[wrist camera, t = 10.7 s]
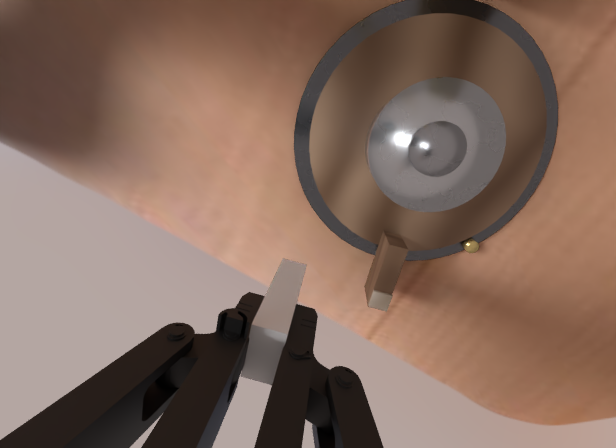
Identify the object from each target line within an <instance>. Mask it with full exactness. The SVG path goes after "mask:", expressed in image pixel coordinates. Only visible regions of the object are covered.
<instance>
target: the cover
mask: <svg viewBox="0 0 616 448" xmlns="http://www.w3.org/2000/svg"><path fill="white" fill-rule="evenodd" d="M505 145H506V129H505V123H504V119H503V116H502V113H501V111H500V109H499V107H498V106H497V104H496V102H495V101H494V100H493V98H492V97H491V96H490V95H489V94H488V93H487V92H486V91H484V90H483V89H482V88H480V87H479V86H477V85H475V84H474V83H471V82H469V81H466V80H463V79H459V78H451V77H437V78H432V79H427V80H424V81H421V82H418V83H416V84H413V85H411V86H409V87H408V88H406V89H404V90H403V91H401V92H400V93H399V94H397V95H396V96H395V97H394V98H392V99H391V100H390V101H389V102H388V103H386V104H385V105H384V106H383V107H382V108H381V109H380V110H379V112H378V113H377V114H376V116H375V117H374V119H373V121H372V122H371V125H370V127H369V129H368V133H367V136H366V141H365V158H366V162H367V166H368V168H369V171H370V173H371V175H372V176H373V178H374V180H375V182H376V183H377V185H378V187H379V188H380V189H381V191H382V192H383V193H384V194H385V195H386V196H387V197H388V198H389V199H391V200H392V201H393V202H395V203H397V204H398V205H400V206H402V207H405V208H407V209H410V210H414V211H419V212H440V211H445V210H449V209H452V208H455V207H458V206H460V205H462V204H464V203H466V202H467V201H469V200H471V199H472V198H474V197H475V196H476V195H477V194H479V193H480V192H481V191H482V190H483V189H484V188H485V187H486V186H487V185H488V184H489V182H490V181H491V180H492V178H493V177H494V175H495V174H496V172H497V170H498V168H499V166H500V164H501V162H502V158H503V155H504V151H505Z"/></svg>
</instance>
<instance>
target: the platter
mask: <svg viewBox="0 0 616 448" xmlns="http://www.w3.org/2000/svg"><path fill="white" fill-rule="evenodd" d="M437 77H451V78H459V79H463V80H466V81H469V82H471V83H474V84H475V85H477V86H479V87H480V88H482V89H483V90H484V91H486V92H487V93H488V94H489V95H490V96H491V97H492V98H493V100H494V101H495V102H496V104H497V106H498V107H499V109H500V111H501V113H502V116H503V119H504V123H505V129H506V145H505V151H504V155H503V158H502V162H501V164H500V166H499V168H498V170H497V172H496V174H495V175H494V177H493V178H492V180H491V181H490V182H489V184H488V185H487V186H486V187H485V188H484V189H483V190H482V191H481V192H480V193H479V194H477V195H476V196H475V197H474V198H472V199H471V200H469V201H467V202H466V203H464V204H462V205H460V206H458V207H455V208H452V209H449V210H445V211H440V212H419V211H414V210H410V209H407V208H405V207H402V206H400V205H398V204H397V203H395V202H393V201H392V200H391V199H389V198H388V197H387V196H386V195H385V194H384V193H383V192H382V191H381V189H380V188H379V187H378V185H377V183H376V182H375V180H374V178H373V176H372V175H371V173H370V171H369V168H368V166H367V162H366V158H365V141H366V136H367V133H368V129H369V127H370V125H371V122H372V121H373V119H374V117H375V116H376V114H377V113H378V112H379V110H380V109H381V108H382V107H383V106H384V105H385V104H386V103H388V102H389V101H390V100H391V99H392V98H394V97H395V96H396V95H397V94H399V93H400V92H401V91H403V90H404V89H406V88H408V87H409V86H411V85H413V84H416V83H418V82H421V81H424V80H427V79H432V78H437ZM546 128H547V109H546V102H545V95H544V91H543V88H542V85H541V81H540V78H539V76H538V74H537V72H536V70H535V68H534V66H533V64H532V62H531V61H530V59H529V58H528V56H527V55H526V54H525V52H524V51H523V50H522V49H521V48H520V46H519V45H518V44H517V43H516V42H515V41H514V40H513V39H512V38H510V37H509V36H508V35H506V34H505V33H504V32H502V31H501V30H499V29H498V28H496V27H494V26H492V25H490V24H488V23H486V22H484V21H481V20H478V19H475V18H472V17H469V16H464V15H458V14H451V13H432V14H425V15H418V16H414V17H410V18H407V19H403V20H400V21H397V22H395V23H393V24H390V25H388V26H386V27H384V28H382V29H380V30H378V31H377V32H375V33H374V34H372V35H370V36H369V37H367V38H366V39H365V40H363V41H362V42H361V43H360V44H358V45H357V46H356V47H355V48H353V50H352V51H351V52H350V53H349V54H348V55H347V56H346V57H345V58H344V59H343V60H342V61H341V62H340V64H339V65H338V66H337V68H336V69H335V70H334V71H333V73H332V74H331V76H330V77H329V79H328V81H327V83H326V84H325V86H324V88H323V90H322V92H321V95H320V97H319V99H318V102H317V104H316V107H315V111H314V114H313V118H312V123H311V129H310V142H309V152H310V162H311V167H312V172H313V176H314V179H315V182H316V185H317V188H318V190H319V192H320V194H321V196H322V198H323V200H324V202H325V203H326V205H327V206H328V207H329V209H330V210H331V212H332V213H333V214H334V215H335V216H336V217H337V219H338V220H339V221H340V222H341V223H342V224H344V225H345V226H346V227H347V228H348V229H350V230H351V231H352V232H354V233H355V234H357V235H359V236H360V237H362V238H364V239H366V240H368V241H370V242H372V243H374V244H378V248H377V251H376V254H375V257H374V260H373V263H372V266H371V269H370V272H369V275H368V278H367V281H366V283H365V292H366V298H367V304H368V307H371V308H375V309H378V310H382V311H386V312H387V310H388V307H389V304H390V302H391V299H392V293H393V290H394V287H395V285H396V282H397V279H398V277H399V274H400V271H401V269H402V266H403V263H404V261H405V258H406V255H407V253H408V251H422V250H432V249H438V248H443V247H446V246H450V245H453V244H456V243H459V242H461V241H464V240H466V239H468V238H470V237H472V236H474V235H476V234H478V233H480V232H481V231H483V230H484V229H486V228H487V227H489V226H490V225H492V224H493V223H494V222H496V221H497V220H498V219H499V218H500V217H501V216H502V215H504V214H505V213H506V212H507V211H508V210H509V209H510V207H511V206H512V205H513V204H514V203H515V202H516V201H517V200H518V198H519V197H520V195H521V194H522V193H523V191H524V190H525V188H526V187H527V185H528V183H529V182H530V180H531V178H532V176H533V174H534V172H535V170H536V167H537V165H538V163H539V160H540V157H541V154H542V150H543V146H544V143H545V135H546Z"/></svg>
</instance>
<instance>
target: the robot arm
mask: <svg viewBox="0 0 616 448" xmlns="http://www.w3.org/2000/svg"><path fill="white" fill-rule="evenodd" d="M306 266H307V265H306V264H303V263H299V262H295V261H291V260H288V259H284V258H283V260H282V262H281V264H280V266H279V268H278V270H277V272H276V274H275V276H274V278H273V281H272V283H271V285H270V287H269V289H268V291H267V293H266V296H262V295H258V294H255V293H251V292H249V293H247V294H245V295H244V296H242V298H241V299H240V301H239V303H238V304H237V306H236V308H232V309H226V310H224V311H222V312H221V313H220V314H219V316H218V322H217V328H216V332H214V333H210V334H194V333H195V332H194V330H193V328H192V327H191V326H190V325H188V324H185V323H172V324H169V325H167V326H165V327H163V328H161V329H160V330H159V331H157V332H156V333H154V334H153V335H151V336H150V337H148V338H147V339H146V340H144V341H143V342H141V343H140V344H138V345H137V346H135V347H134V348H133V349H131V350H130V351H128V352H127V353H125V354H124V355H123V356H121V357H120V358H118V359H117V360H115V361H114V362H112V363H111V364H109V365H108V366H107V367H105V368H104V369H102V370H101V371H99V372H98V373H97V374H95V375H94V376H92V377H91V378H89V379H88V380H87V381H85V382H84V383H82V384H81V385H79V386H78V387H76V388H75V389H74V390H72V391H71V392H69V393H68V394H66V395H65V396H63V397H62V398H60V399H59V400H58V401H56V402H55V403H53V404H52V405H50V406H49V407H47V408H46V409H45V410H43V411H42V412H40V413H39V414H37V415H36V416H34V417H33V418H32V419H30V420H29V421H27V422H26V423H24V424H23V425H22V426H20V427H19V428H17V429H16V430H14V431H13V432H11V433H10V434H8V435H7V436H6V437H4V438H3V439H1V440H0V448H129V447H130V446H131V445H132V444H133V443H134V442H135V441H136V440H137V439H138V438H139V437H140V436H141V435H142V434H143V433H144V432H145V431H146V430H147V429H148V428H149V427H150V426H151V425H152V424H153V423H154V422H155V421H156V420H157V419H158V418H159V416H161V415H162V413H163V412H164V413H163V415H162V416H161V418H160V419H159V421H158V422H157V424H156V426H155V427H154V429H153V430H152V432H151V433H150V435H149V436H148V438H147V440H146V441H145V443H144V444H143V446H142V447H141V448H212V446H213V443H214V441H215V438H216V436H217V434H218V431H219V429H220V426H221V424H222V422H223V419H224V417H225V414H226V412H227V410H228V407H229V404H230V402H231V400H232V398H233V395H234V393H235V390H236V388H237V384H238V379H239V376H240V374H241V376H242V377H245V378H249V379H252V380H256V381H259V382H263V383H267V384H270V385H272V388H271V391H270V395H269V398H268V402H267V405H266V409H265V412H264V416H263V419H262V423H261V426H260V430H259V433H258V437H257V440H256V444H255V447H254V448H302V440H303V433H304V425H305V419H306V420H308V421H309V422H311V423H312V424H313V425H312V429H313V436H314V443H315V448H383V445H382V442H381V439H380V436H379V433H378V430H377V427H376V424H375V421H374V418H373V416H372V412H371V410H370V407H369V404H368V401H367V398H366V395H365V392H364V389H363V386H362V383H361V381H360V379H359V377H358V375H357V374H356V373H355V372H354V371H352V370H350V369H349V368H346V367H343V366H338V367H334V368H332V369H331V370H329V369H327V368H326V367H324V366H323V365H321V364H320V363H319V362H318V361H317V360H316V358H315V357H314V354H313V346H314V339H315V331H316V323H317V317H318V316H317V313H316V311H315V309H313V308H309V307H305V306H302V305H298V304H297V301H298V297H299V293H300V289H301V285H302V281H303V277H304V273H305V270H306ZM241 371H242V373H241Z"/></svg>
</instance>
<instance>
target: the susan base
mask: <svg viewBox="0 0 616 448" xmlns="http://www.w3.org/2000/svg"><path fill="white" fill-rule="evenodd" d="M432 13H451V14H458V15H464V16H469V17H472V18H475V19H478V20H481V21H484V22H486V23H488V24H490V25H492V26H494V27H496V28H498V29H499V30H501V31H502V32H504V33H505V34H506V35H508V36H509V37H510V38H512V39H513V40H514V41H515V42H516V43H517V44H518V45H519V46H520V48H521V49H522V50H523V51H524V52H525V54H526V55H527V56H528V58H529V59H530V61H531V62H532V64H533V66H534V68H535V70H536V72H537V74H538V76H539V78H540V81H541V85H542V88H543V91H544V95H545V102H546V109H547V128H546V135H545V143H544V146H543V150H542V154H541V157H540V160H539V163H538V165H537V167H536V170H535V172H534V174H533V176H532V178H531V180H530V182H529V183H528V185H527V187H526V188H525V190H524V191H523V193H522V194H521V195H520V197H519V198H518V200H517V201H516V202H515V203H514V204H513V205H512V206H511V207H510V209H509V210H508V211H507V212H506V213H505V214H504V215H502V216H501V217H500V218H499V219H498V220H497V221H496V222H494V223H493V224H492V225H490V226H489V227H487V228H486V229H484V230H483V231H481V232H480V233H478V234H476V235H474V236H472V237H470V238H468V239H466V240H464V241H461V242H459V243H456V244H453V245H450V246H446V247H443V248H438V249H432V250H422V251H408V253H407V255H406V258H405V260H407V261H413V260H428V259H434V258H440V257H444V256H447V255H451V254H455V253H457V252H460V251H462V250H466V251H467V252H468V253H474V252H476V251H477V250H478V249H479V244H478V243H479V242H481V241H483V240H485V239H486V238H488V237H489V236H491V235H492V234H494V233H495V232H496V231H498V230H499V229H500V228H502V227H503V226H504V225H505V224H506V223H507V222H509V221H510V220H511V219H512V218H513V217H514V216H515V215H516V214H517V213H518V211H519V210H520V209H521V208H522V207H523V206H524V205H525V203H526V202H527V201H528V199H529V198H530V197H531V195H532V194H533V193H534V191H535V189H536V188H537V186H538V184H539V182H540V181H541V179H542V177H543V175H544V173H545V170H546V168H547V166H548V163H549V161H550V158H551V155H552V151H553V147H554V144H555V139H556V132H557V125H558V102H557V95H556V87H555V84H554V80H553V77H552V73H551V70H550V68H549V65H548V63H547V61H546V59H545V57H544V55H543V53H542V51H541V50H540V48H539V47H538V45H537V44H536V43H535V41H534V40H533V38H532V37H531V36H530V35H529V34H528V33H527V32H526V31H525V30H524V29H523V28H522V27H521V25H520V24H518V23H517V22H516V21H514V20H513V19H512V18H510V17H509V16H508V15H506V14H505V13H503V12H501V11H499V10H497V9H495V8H493V7H491V6H489V5H488V4H484V3H481V2H478V1H475V0H405V1H402V2H399V3H395V4H392V5H390V6H388V7H386V8H383V9H381V10H379V11H377V12H375V13H373V14H371V15H370V16H368V17H366V18H365V19H363V20H362V21H360V22H359V23H357V24H356V25H355V26H353V27H352V28H351V29H350V30H348V31H347V32H346V33H345V34H344V35H342V36H341V37H340V38H339V40H338V41H337V42H336V43H335V44H334V45H333V46H332V47H331V48H330V49H329V50H328V52H327V53H326V54H325V56H324V57H323V58H322V60H321V61H320V62H319V64H318V65H317V67H316V69H315V70H314V72H313V74H312V76H311V78H310V79H309V81H308V84H307V86H306V88H305V91H304V93H303V96H302V98H301V102H300V105H299V109H298V113H297V118H296V124H295V131H294V152H295V162H296V168H297V172H298V176H299V180H300V183H301V185H302V188H303V191H304V193H305V195H306V197H307V199H308V201H309V203H310V205H311V206H312V208H313V209H314V211H315V212H316V214H317V215H318V216H319V218H320V219H321V220H322V221H323V222H324V223H325V224H326V226H327V227H328V228H329V229H330V230H331V231H333V232H334V233H335V234H336V235H337V236H339V237H340V238H341V239H343V240H344V241H346V242H347V243H349V244H351V245H352V246H354V247H356V248H358V249H360V250H362V251H365V252H367V253H370V254H373V255H375V254H376V251H377V248H378V244H374V243H372V242H370V241H368V240H366V239H364V238H362V237H360V236H359V235H357V234H355V233H354V232H352V231H351V230H350V229H348V228H347V227H346V226H345V225H344V224H342V223H341V222H340V221H339V220H338V219H337V217H336V216H335V215H334V214H333V213H332V212H331V210H330V209H329V207H328V206H327V205H326V203H325V202H324V200H323V198H322V196H321V194H320V192H319V190H318V188H317V185H316V182H315V179H314V176H313V172H312V167H311V162H310V152H309V142H310V129H311V123H312V118H313V114H314V111H315V107H316V104H317V102H318V99H319V97H320V95H321V92H322V90H323V88H324V86H325V84H326V83H327V81H328V79H329V77H330V76H331V74H332V73H333V71H334V70H335V69H336V68H337V66H338V65H339V64H340V62H341V61H342V60H343V59H344V58H345V57H346V56H347V55H348V54H349V53H350V52H351V51H352V50H353V48H355V47H356V46H357V45H358V44H360V43H361V42H362V41H363V40H365V39H366V38H367V37H369V36H370V35H372V34H374V33H375V32H377V31H378V30H380V29H382V28H384V27H386V26H388V25H390V24H393V23H395V22H397V21H400V20H403V19H407V18H410V17H414V16H418V15H425V14H432Z"/></svg>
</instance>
